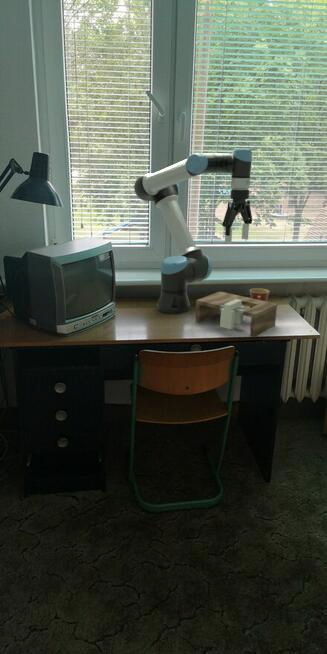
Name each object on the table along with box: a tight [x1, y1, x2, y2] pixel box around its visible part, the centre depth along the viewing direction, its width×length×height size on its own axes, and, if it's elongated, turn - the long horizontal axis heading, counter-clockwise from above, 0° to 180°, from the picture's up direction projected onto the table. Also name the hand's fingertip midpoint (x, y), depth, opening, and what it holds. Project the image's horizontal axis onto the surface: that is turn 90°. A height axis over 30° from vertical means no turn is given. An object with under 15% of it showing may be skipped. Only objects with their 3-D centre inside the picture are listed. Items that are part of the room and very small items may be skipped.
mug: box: [249, 287, 271, 308], centre depth 217 cm, size 12×9×10 cm
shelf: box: [195, 290, 278, 338], centre depth 204 cm, size 28×18×10 cm, turn 51°
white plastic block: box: [219, 299, 245, 330], centre depth 196 cm, size 5×9×10 cm, turn 141°
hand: (236, 241), depth 205 cm, fingers open, 13 cm apart
